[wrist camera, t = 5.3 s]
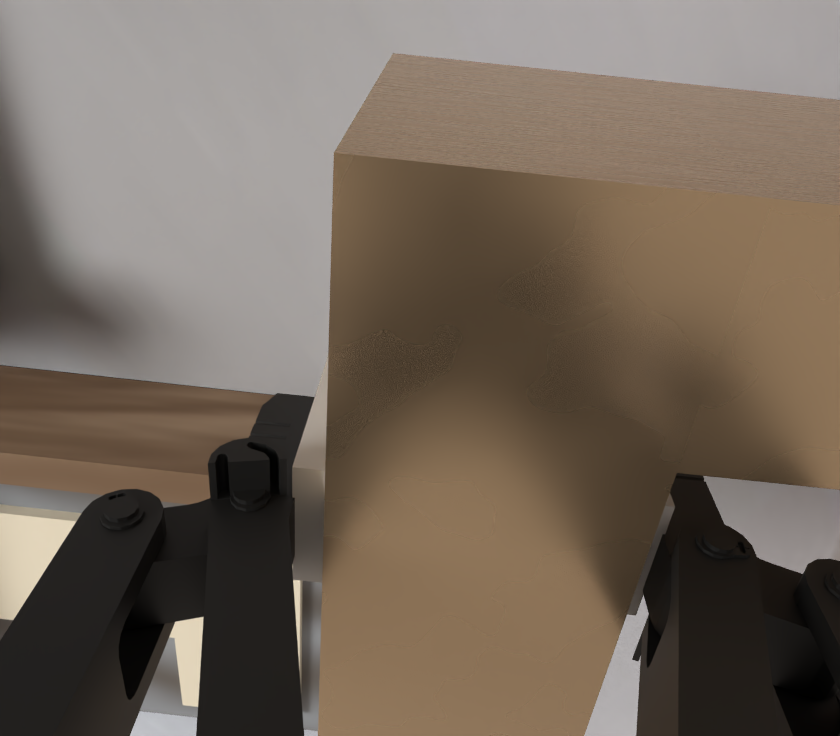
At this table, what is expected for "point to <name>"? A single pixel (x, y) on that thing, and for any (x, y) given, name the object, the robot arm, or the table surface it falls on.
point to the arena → (130, 470)
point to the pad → (35, 548)
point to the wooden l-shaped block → (553, 369)
